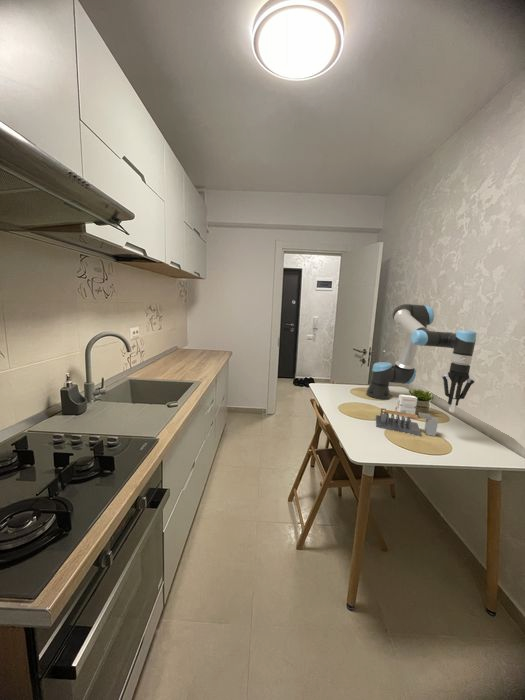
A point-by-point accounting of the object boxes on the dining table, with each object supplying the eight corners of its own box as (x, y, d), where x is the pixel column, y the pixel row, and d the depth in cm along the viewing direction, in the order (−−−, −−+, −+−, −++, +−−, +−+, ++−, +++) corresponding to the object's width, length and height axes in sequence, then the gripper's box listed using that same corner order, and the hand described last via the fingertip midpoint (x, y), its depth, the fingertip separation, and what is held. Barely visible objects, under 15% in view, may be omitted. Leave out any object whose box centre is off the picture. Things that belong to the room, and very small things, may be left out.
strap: (382, 411, 148) (382, 408, 148) (416, 416, 143) (417, 413, 143) (382, 413, 145) (382, 410, 145) (417, 419, 139) (418, 416, 139)
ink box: (410, 414, 164) (414, 395, 162) (414, 418, 159) (418, 398, 157) (395, 413, 164) (398, 393, 162) (398, 416, 159) (402, 396, 157)
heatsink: (375, 418, 154) (377, 406, 153) (416, 426, 147) (418, 414, 146) (376, 426, 143) (378, 413, 142) (420, 436, 136) (422, 422, 135)
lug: (415, 428, 144) (418, 411, 143) (433, 432, 142) (436, 415, 140) (416, 432, 140) (420, 415, 138) (435, 436, 137) (438, 418, 135)
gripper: (446, 362, 130) (437, 411, 134) (480, 367, 126) (469, 416, 129) (442, 360, 137) (434, 406, 141) (474, 364, 133) (464, 411, 136)
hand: (451, 411), depth 135 cm, fingers closed
